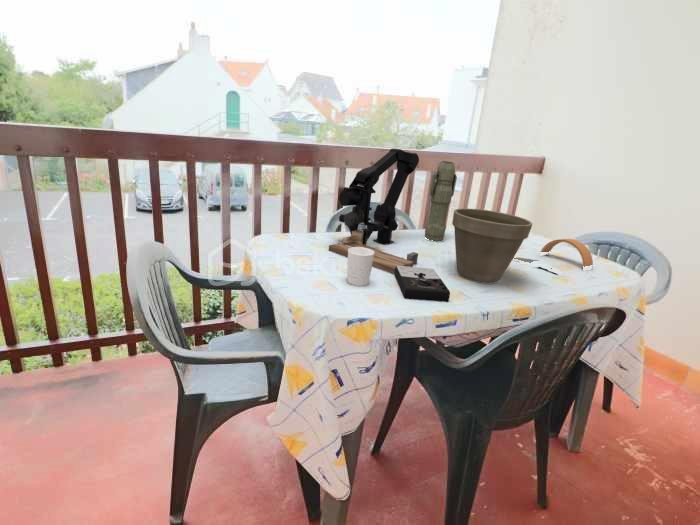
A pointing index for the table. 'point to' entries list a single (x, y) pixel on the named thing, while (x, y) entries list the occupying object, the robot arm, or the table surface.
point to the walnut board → (377, 257)
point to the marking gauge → (355, 237)
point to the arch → (578, 245)
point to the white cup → (359, 265)
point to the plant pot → (487, 242)
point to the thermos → (440, 200)
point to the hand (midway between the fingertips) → (358, 242)
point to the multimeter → (421, 284)
